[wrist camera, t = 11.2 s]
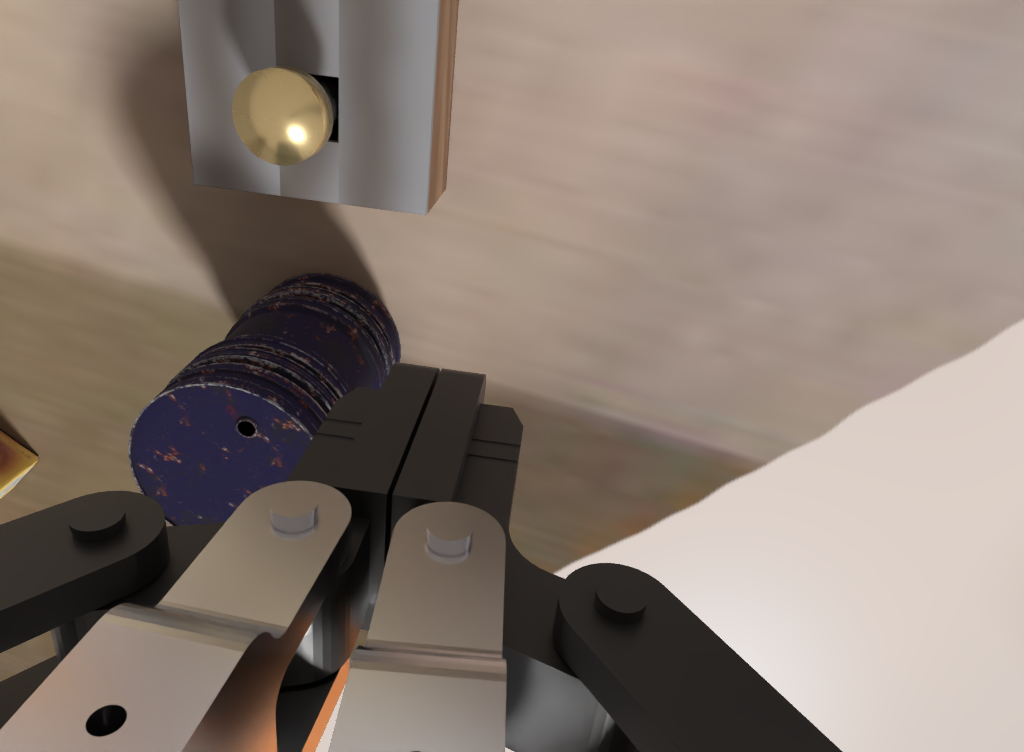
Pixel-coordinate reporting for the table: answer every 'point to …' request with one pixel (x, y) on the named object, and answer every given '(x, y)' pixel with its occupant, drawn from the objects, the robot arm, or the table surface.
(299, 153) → the knob
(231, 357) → the storage jar
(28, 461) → the candy box
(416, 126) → the mount
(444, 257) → the table surface
